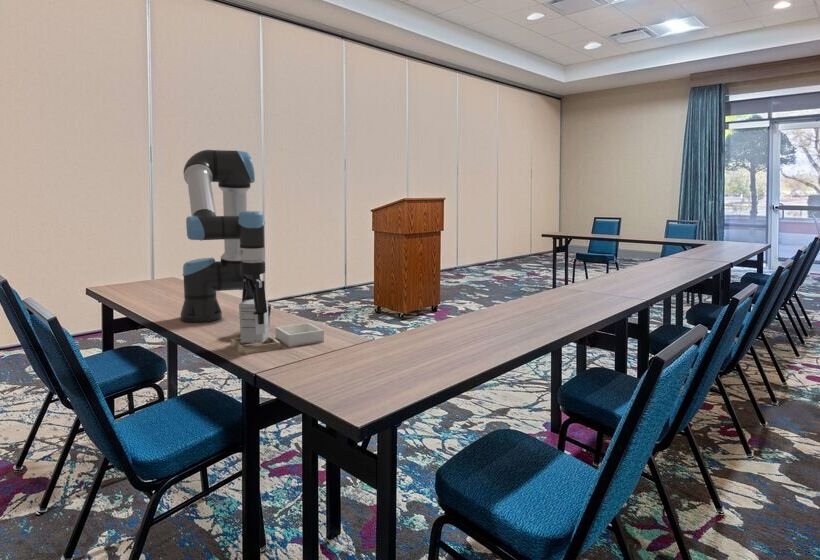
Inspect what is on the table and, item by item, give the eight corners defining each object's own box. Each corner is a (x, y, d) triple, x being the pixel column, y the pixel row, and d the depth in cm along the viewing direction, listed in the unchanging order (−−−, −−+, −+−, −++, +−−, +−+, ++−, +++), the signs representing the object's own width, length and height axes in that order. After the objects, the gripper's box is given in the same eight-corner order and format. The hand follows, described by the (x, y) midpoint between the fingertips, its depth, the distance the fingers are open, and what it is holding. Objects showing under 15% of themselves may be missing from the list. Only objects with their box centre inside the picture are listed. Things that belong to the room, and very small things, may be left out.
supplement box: (247, 336, 176) (245, 298, 174) (269, 337, 176) (268, 299, 174) (239, 342, 169) (238, 303, 167) (263, 343, 169) (261, 303, 167)
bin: (275, 338, 183) (275, 327, 182) (309, 333, 189) (308, 322, 189) (289, 347, 173) (288, 335, 172) (323, 341, 179) (323, 330, 179)
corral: (230, 345, 174) (230, 339, 174) (267, 339, 181) (267, 334, 181) (242, 354, 164) (242, 348, 164) (280, 348, 171) (280, 342, 171)
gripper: (230, 257, 175) (232, 323, 179) (252, 266, 157) (254, 340, 161) (253, 256, 180) (255, 320, 183) (277, 264, 161) (278, 336, 165)
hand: (254, 329), depth 172 cm, fingers closed on supplement box, 10 cm apart
